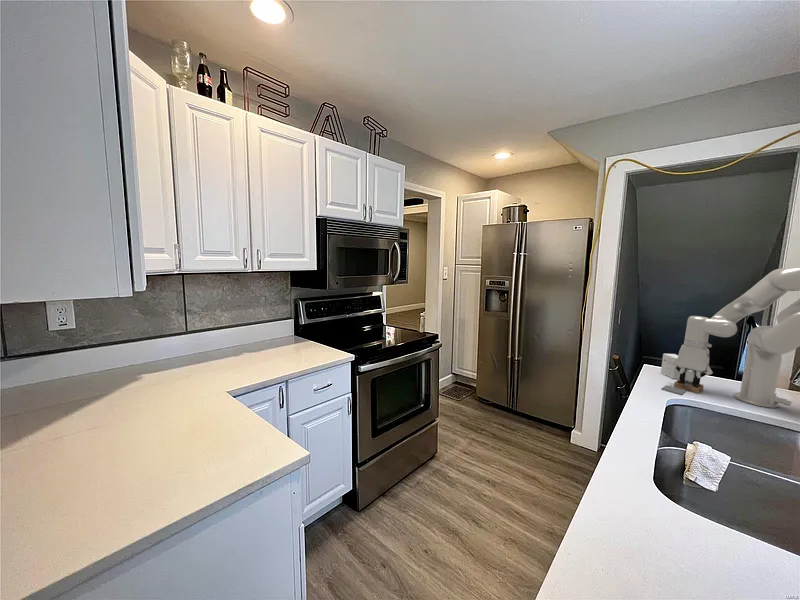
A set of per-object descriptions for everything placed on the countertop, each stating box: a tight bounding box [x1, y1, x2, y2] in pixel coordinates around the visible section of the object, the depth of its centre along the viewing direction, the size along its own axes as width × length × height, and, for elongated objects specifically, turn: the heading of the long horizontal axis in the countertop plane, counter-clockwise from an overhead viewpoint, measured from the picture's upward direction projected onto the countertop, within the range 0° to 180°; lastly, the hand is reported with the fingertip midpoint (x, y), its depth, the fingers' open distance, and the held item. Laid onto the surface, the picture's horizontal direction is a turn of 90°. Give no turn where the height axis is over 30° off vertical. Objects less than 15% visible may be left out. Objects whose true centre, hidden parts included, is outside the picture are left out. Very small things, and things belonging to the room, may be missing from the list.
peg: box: [683, 368, 697, 387], centre depth 146 cm, size 4×4×9 cm
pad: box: [660, 384, 687, 396], centre depth 143 cm, size 7×7×1 cm
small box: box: [660, 353, 685, 380], centre depth 162 cm, size 8×6×10 cm
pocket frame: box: [673, 379, 705, 395], centre depth 147 cm, size 8×8×2 cm
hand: (688, 383), depth 146 cm, fingers closed on peg, 4 cm apart
